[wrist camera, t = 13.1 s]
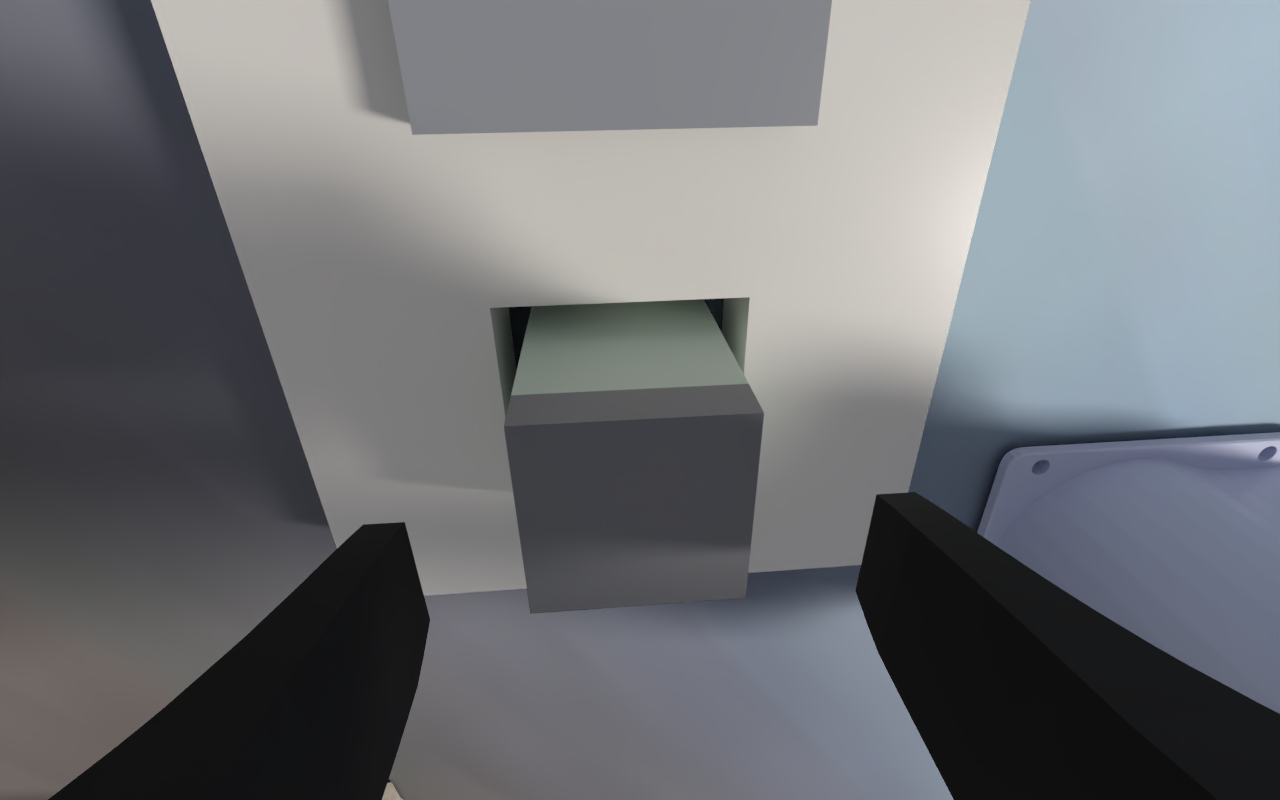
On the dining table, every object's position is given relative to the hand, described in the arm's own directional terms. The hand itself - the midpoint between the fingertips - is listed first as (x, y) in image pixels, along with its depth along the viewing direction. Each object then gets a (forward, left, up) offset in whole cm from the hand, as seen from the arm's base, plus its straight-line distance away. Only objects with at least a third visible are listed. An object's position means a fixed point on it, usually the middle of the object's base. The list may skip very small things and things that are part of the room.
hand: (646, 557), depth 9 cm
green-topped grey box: (0, 0, -7) cm, 7 cm away
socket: (0, -3, -7) cm, 7 cm away
